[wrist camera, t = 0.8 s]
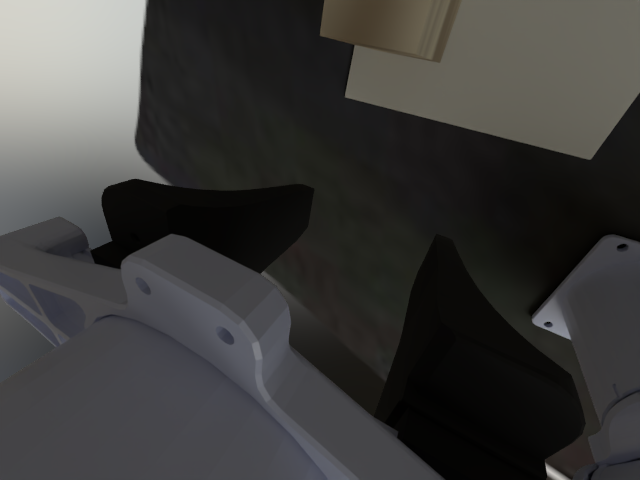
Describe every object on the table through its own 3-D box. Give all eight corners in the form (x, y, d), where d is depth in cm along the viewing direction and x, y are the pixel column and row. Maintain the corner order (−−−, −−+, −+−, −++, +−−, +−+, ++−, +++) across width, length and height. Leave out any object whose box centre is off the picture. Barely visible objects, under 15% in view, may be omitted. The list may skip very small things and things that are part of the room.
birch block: (471, -29, 14) (465, -111, 8) (440, 62, 17) (415, 54, 10) (396, -36, 15) (339, -114, 9) (376, 50, 18) (319, 35, 11)
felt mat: (783, -111, 10) (790, -116, 10) (588, 158, 16) (590, 159, 16) (388, -117, 14) (386, -121, 14) (346, 96, 20) (344, 97, 20)
